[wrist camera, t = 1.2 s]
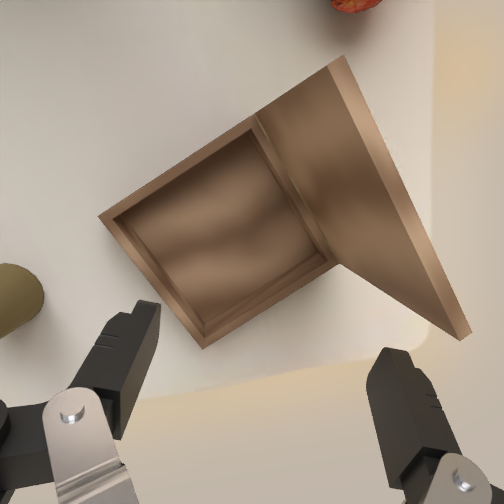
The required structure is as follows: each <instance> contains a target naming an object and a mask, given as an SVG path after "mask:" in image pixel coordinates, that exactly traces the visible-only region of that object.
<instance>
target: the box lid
mask: <svg viewBox="0 0 504 504" xmlns="http://www.w3.org/2000/svg"><path fill="white" fill-rule="evenodd" d="M253 115H254V116H255V118H256V120H257V122H258V123H259V125H260V127H261V129H262V130H263V132H264V134H265V136H266V137H267V139H268V141H269V143H270V144H271V146H272V148H273V150H274V151H275V153H276V155H277V157H278V158H279V160H280V162H281V164H282V165H283V167H284V169H285V171H286V172H287V174H288V176H289V178H290V179H291V181H292V183H293V185H294V186H295V188H296V190H297V192H298V193H299V195H300V197H301V199H302V200H303V202H304V204H305V206H306V207H307V209H308V211H309V213H310V214H311V216H312V218H313V220H314V221H315V223H316V225H317V227H318V228H319V230H320V232H321V234H322V235H323V237H324V239H325V241H326V242H327V244H328V246H329V248H330V249H331V251H332V253H333V255H334V256H335V258H336V260H337V262H338V263H339V264H342V265H343V266H345V267H346V268H348V269H349V270H351V271H352V272H354V273H356V274H357V275H359V276H360V277H362V278H363V279H365V280H366V281H368V282H369V283H371V284H372V285H374V286H376V287H377V288H379V289H380V290H382V291H383V292H385V293H386V294H388V295H389V296H391V297H393V298H394V299H396V300H397V301H399V302H400V303H402V304H403V305H405V306H406V307H408V308H409V309H411V310H413V311H414V312H416V313H417V314H419V315H420V316H422V317H423V318H425V319H426V320H428V321H430V322H431V323H433V324H434V325H436V326H437V327H439V328H440V329H442V330H443V331H445V332H447V333H448V334H450V335H451V336H453V337H454V338H456V339H457V340H459V341H461V340H462V339H464V338H465V337H467V336H468V335H469V334H471V333H472V331H471V328H470V326H469V324H468V322H467V320H466V318H465V315H464V313H463V311H462V309H461V307H460V305H459V303H458V300H457V298H456V296H455V294H454V292H453V290H452V288H451V285H450V283H449V281H448V279H447V277H446V274H445V272H444V270H443V268H442V266H441V264H440V261H439V259H438V257H437V255H436V253H435V251H434V248H433V246H432V244H431V242H430V240H429V238H428V235H427V233H426V231H425V229H424V227H423V225H422V223H421V220H420V218H419V216H418V214H417V212H416V210H415V207H414V205H413V203H412V201H411V199H410V197H409V194H408V192H407V190H406V188H405V186H404V184H403V181H402V179H401V177H400V175H399V173H398V171H397V169H396V166H395V164H394V162H393V160H392V158H391V156H390V153H389V151H388V149H387V147H386V145H385V143H384V140H383V138H382V136H381V134H380V132H379V130H378V127H377V125H376V123H375V121H374V119H373V117H372V115H371V112H370V110H369V108H368V106H367V104H366V102H365V99H364V97H363V95H362V93H361V91H360V89H359V86H358V84H357V82H356V80H355V78H354V76H353V73H352V71H351V69H350V67H349V65H348V63H347V60H346V58H345V56H344V55H342V56H340V57H339V58H337V59H336V60H334V61H333V62H331V63H330V64H328V65H327V66H325V67H324V68H322V69H321V70H319V71H318V72H316V73H315V74H313V75H312V76H310V77H309V78H307V79H306V80H304V81H303V82H301V83H300V84H298V85H297V86H295V87H294V88H292V89H291V90H289V91H288V92H286V93H285V94H283V95H282V96H280V97H279V98H277V99H276V100H274V101H273V102H271V103H270V104H268V105H267V106H265V107H264V108H262V109H261V110H259V111H258V112H256V113H255V114H253Z"/></svg>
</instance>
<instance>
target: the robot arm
mask: <svg viewBox="0 0 504 504" xmlns="http://www.w3.org/2000/svg"><path fill="white" fill-rule="evenodd" d="M160 313H161V304H159V303H153V302H148V301H143V300H139V301H138V302H137V304H136V306H135V307H134V309H133V311H132V313H131V314H129V313H124V312H119V313H118V314H117V315H115V316H114V317H113V318H111V319H110V320H109V321H108V322H107V323H106V325H105V327H104V328H103V330H102V332H101V334H100V336H99V337H98V339H97V340H96V342H95V345H94V346H93V347H92V349H91V351H90V352H89V354H88V356H87V357H86V359H85V361H84V362H83V364H82V366H81V368H80V369H79V371H78V373H77V374H76V376H75V378H74V379H73V381H72V383H71V384H70V386H69V387H68V388H67V389H66V390H64V391H62V392H60V393H58V394H57V395H55V396H54V397H53V398H52V399H51V400H50V401H47V402H44V403H41V404H35V405H27V406H19V407H11V408H7V407H6V404H5V403H4V402H3V401H2V400H0V504H8V503H9V501H10V499H11V497H12V495H13V493H14V491H15V489H18V488H23V487H29V486H33V485H39V484H44V483H50V482H55V486H56V492H57V496H58V502H59V504H139V501H138V499H137V496H136V493H135V490H134V487H133V484H132V481H131V478H130V475H129V473H128V470H127V468H126V466H125V464H122V463H121V461H120V458H119V456H118V452H117V449H116V446H115V444H114V441H113V439H115V440H121V438H122V436H123V433H124V430H125V428H126V426H127V423H128V420H129V418H130V415H131V412H132V410H133V407H134V405H135V402H136V400H137V397H138V394H139V392H140V389H141V387H142V384H143V382H144V379H145V376H146V374H147V371H148V369H149V366H150V363H151V361H152V358H153V356H154V353H155V350H156V347H157V343H158V338H159V327H160ZM366 391H367V395H368V400H369V404H370V408H371V412H372V416H373V420H374V425H375V429H376V433H377V437H378V441H379V445H380V449H381V454H382V458H383V462H384V466H385V470H386V474H387V479H388V483H389V487H390V488H395V489H400V490H404V494H405V498H406V499H405V500H404V501H403V502H402V504H504V491H503V490H501V489H499V488H497V487H495V486H493V485H492V484H490V483H489V481H488V480H487V478H486V476H485V475H484V473H483V472H482V471H481V469H480V468H479V467H478V466H477V465H476V464H475V463H473V462H472V461H471V460H469V459H468V458H466V457H464V456H463V455H462V453H461V451H460V448H459V446H458V444H457V441H456V439H455V437H454V434H453V432H452V430H451V427H450V425H449V423H448V420H447V418H446V416H445V413H444V411H443V410H442V406H441V404H440V402H439V400H438V399H437V395H436V392H435V390H434V388H433V385H432V383H431V381H430V380H429V379H428V378H427V376H426V375H425V374H424V373H423V372H422V371H421V369H419V368H415V367H414V365H413V362H412V360H411V357H410V355H409V353H408V352H407V351H403V350H398V349H393V348H388V347H385V348H383V349H382V351H381V352H380V354H379V356H378V358H377V360H376V361H375V363H374V365H373V367H372V369H371V371H370V372H369V374H368V377H367V382H366Z"/></svg>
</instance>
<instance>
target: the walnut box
mask: <svg viewBox="0 0 504 504" xmlns="http://www.w3.org/2000/svg"><path fill="white" fill-rule="evenodd" d="M98 217H99V219H100V220H101V221H102V223H103V224H104V225H105V226H106V228H107V229H108V230H109V231H110V233H111V234H112V235H113V237H114V238H115V239H116V240H117V242H118V243H119V244H120V245H121V247H122V248H123V249H124V250H125V252H126V253H127V254H128V256H129V257H130V258H131V259H132V261H133V262H134V263H135V264H136V266H137V267H138V268H139V270H140V271H141V272H142V273H143V275H144V276H145V277H146V278H147V280H148V281H149V282H150V284H151V285H152V286H153V287H154V289H155V290H156V291H157V292H158V294H159V295H160V296H161V297H162V299H163V300H164V301H165V303H166V304H167V305H168V306H169V308H170V309H171V310H172V311H173V313H174V314H175V315H176V317H177V318H178V319H179V320H180V322H181V323H182V324H183V325H184V327H185V328H186V329H187V331H188V332H189V333H190V334H191V336H192V337H193V338H194V339H195V341H196V342H197V343H198V344H199V346H200V347H201V348H202V350H203V349H204V348H206V347H207V346H209V345H211V344H212V343H214V342H215V341H217V340H219V339H220V338H222V337H223V336H225V335H226V334H228V333H230V332H231V331H233V330H234V329H236V328H238V327H239V326H241V325H242V324H244V323H246V322H247V321H249V320H250V319H252V318H253V317H255V316H257V315H258V314H260V313H261V312H263V311H265V310H266V309H268V308H269V307H271V306H273V305H274V304H276V303H277V302H279V301H280V300H282V299H284V298H285V297H287V296H288V295H290V294H292V293H293V292H295V291H296V290H298V289H300V288H301V287H303V286H304V285H306V284H307V283H309V282H311V281H312V280H314V279H315V278H317V277H319V276H320V275H322V274H323V273H325V272H326V271H328V270H330V269H331V268H333V267H334V266H336V265H338V264H339V263H338V262H337V260H336V258H335V256H334V255H333V253H332V251H331V249H330V248H329V246H328V244H327V242H326V241H325V239H324V237H323V235H322V234H321V232H320V230H319V228H318V227H317V225H316V223H315V221H314V220H313V218H312V216H311V214H310V213H309V211H308V209H307V207H306V206H305V204H304V202H303V200H302V199H301V197H300V195H299V193H298V192H297V190H296V188H295V186H294V185H293V183H292V181H291V179H290V178H289V176H288V174H287V172H286V171H285V169H284V167H283V165H282V164H281V162H280V160H279V158H278V157H277V155H276V153H275V151H274V150H273V148H272V146H271V144H270V143H269V141H268V139H267V137H266V136H265V134H264V132H263V130H262V129H261V127H260V125H259V123H258V122H257V120H256V118H255V116H254V115H252V116H250V117H248V118H247V119H245V120H244V121H242V122H241V123H239V124H238V125H236V126H235V127H233V128H232V129H230V130H229V131H227V132H226V133H224V134H222V135H221V136H219V137H218V138H216V139H215V140H213V141H212V142H210V143H209V144H207V145H206V146H204V147H203V148H201V149H200V150H198V151H197V152H195V153H193V154H192V155H190V156H189V157H187V158H186V159H184V160H183V161H181V162H180V163H178V164H177V165H175V166H174V167H172V168H171V169H169V170H168V171H166V172H164V173H163V174H161V175H160V176H158V177H157V178H155V179H154V180H152V181H151V182H149V183H148V184H146V185H145V186H143V187H142V188H140V189H139V190H137V191H135V192H134V193H132V194H131V195H129V196H128V197H126V198H125V199H123V200H122V201H120V202H119V203H117V204H116V205H114V206H113V207H111V208H110V209H108V210H106V211H105V212H103V213H102V214H100V215H99V216H98Z"/></svg>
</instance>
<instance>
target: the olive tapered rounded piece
mask: <svg viewBox="0 0 504 504" xmlns="http://www.w3.org/2000/svg"><path fill="white" fill-rule="evenodd" d="M43 303H44V292H43V288H42V285H41V283H40V282H39V280H38V279H37V278H36V276H35V275H33V274H32V273H31V272H30V271H28V270H27V269H25V268H23V267H20V266H18V265H14V264H7V263H4V264H0V339H1V338H2V337H4V336H5V335H7V334H9V333H10V332H12V331H13V330H15V329H16V328H18V327H19V326H21V325H22V324H24V323H25V322H27V321H29V320H30V319H32V318H33V317H34V316H35V315H36V314H37V313H38V312H39V311H40V309H41V307H42V305H43Z"/></svg>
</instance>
